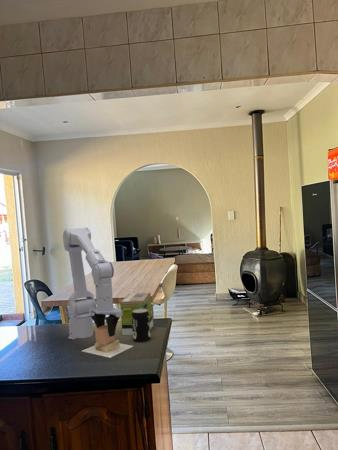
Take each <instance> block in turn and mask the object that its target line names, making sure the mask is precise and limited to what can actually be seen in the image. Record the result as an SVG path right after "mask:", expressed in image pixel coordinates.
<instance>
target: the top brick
mask: <svg viewBox="0 0 338 450" xmlns="http://www.w3.org/2000/svg"><path fill="white" fill-rule="evenodd" d="M94 332H95V333H94V334H95V335H94V336H95V343H99V344H103V345H106V344H108V343H110V342H112V341H114V339H115V335H114V336H111V337H109V333H108V326H107V324H105V325H103V326H101V327H98V328H97V327H96V328H95V329H94Z"/></svg>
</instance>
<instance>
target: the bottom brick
mask: <svg viewBox="0 0 338 450" xmlns="http://www.w3.org/2000/svg"><path fill="white" fill-rule="evenodd" d="M119 343H120V339H115V338H114V341H112V342H110V343H108V344H106V345H103V344H99V343H96V342H94V345H95V349H96V350H98V351H102V352H107V353H108V352H110V351H112V350H115V349H117V348H119V347H120V344H119Z"/></svg>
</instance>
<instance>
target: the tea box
mask: <svg viewBox="0 0 338 450" xmlns="http://www.w3.org/2000/svg"><path fill="white" fill-rule="evenodd" d="M151 296H152V295H151V292H135V293H134V292H133V293H128V294H127V295H126V296H125V297H124V298H123V299H121V300H120V301H119V310H122V316H121V317H120V320H121V333H122V334H121V335H122V336H133V331H132V313H133V312H132V311H133V310H135V309H142V308H143V309H147V310H148V313H149V322H150V331H151V330H152V328H153V327H154V319H153V306H152V297H151Z"/></svg>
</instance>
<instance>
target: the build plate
mask: <svg viewBox="0 0 338 450" xmlns="http://www.w3.org/2000/svg"><path fill="white" fill-rule="evenodd" d="M119 344H120V347H119V348H117V349H115V350H112V351H110V352H108V353H107V352H102V351H98V350H96V349H95V344H94V345H92V346H90V347H87V348H86V349H83V350H81V352H82V353H88V354H92V355H97V356H99V357H105V358H109V359H111V358H112V357H115V356H116V355H119V354H120V353H123V352H124V351H127V350H129V349H131V348H133V347H134V345H130V344H125V343H120V342H119Z"/></svg>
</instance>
